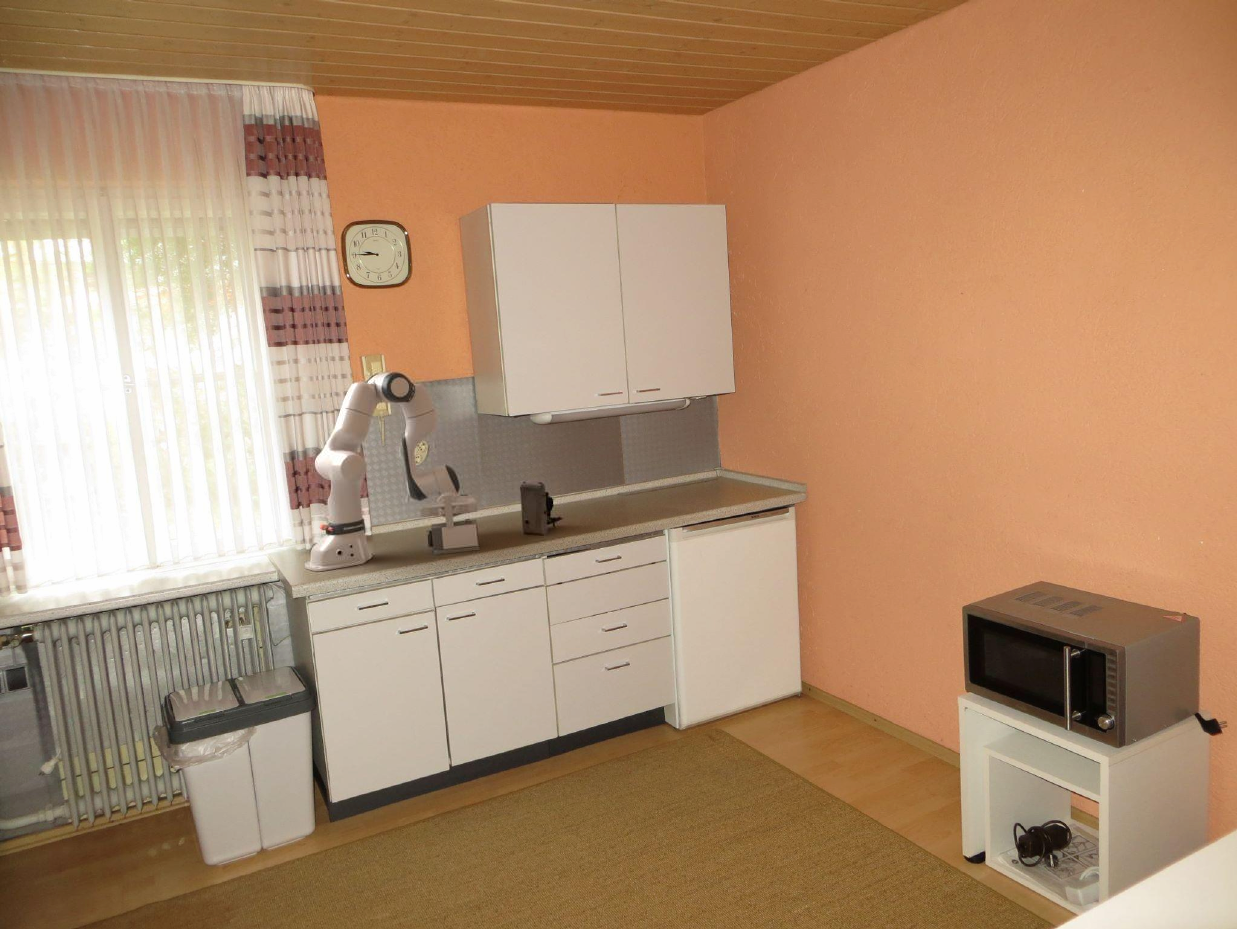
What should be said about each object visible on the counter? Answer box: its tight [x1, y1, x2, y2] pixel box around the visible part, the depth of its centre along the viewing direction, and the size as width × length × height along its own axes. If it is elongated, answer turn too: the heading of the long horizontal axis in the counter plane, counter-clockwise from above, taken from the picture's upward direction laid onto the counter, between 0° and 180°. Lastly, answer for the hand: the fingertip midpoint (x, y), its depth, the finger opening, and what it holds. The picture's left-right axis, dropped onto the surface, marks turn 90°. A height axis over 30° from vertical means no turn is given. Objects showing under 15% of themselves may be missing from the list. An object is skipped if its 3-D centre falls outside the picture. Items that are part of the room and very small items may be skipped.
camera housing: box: [426, 518, 480, 556], centre depth 321 cm, size 18×10×10 cm, turn 101°
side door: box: [442, 495, 478, 549], centre depth 317 cm, size 12×2×19 cm, turn 101°
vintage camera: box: [519, 481, 565, 536], centre depth 342 cm, size 10×16×20 cm, turn 149°
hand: (448, 512), depth 315 cm, fingers closed on side door, 2 cm apart
